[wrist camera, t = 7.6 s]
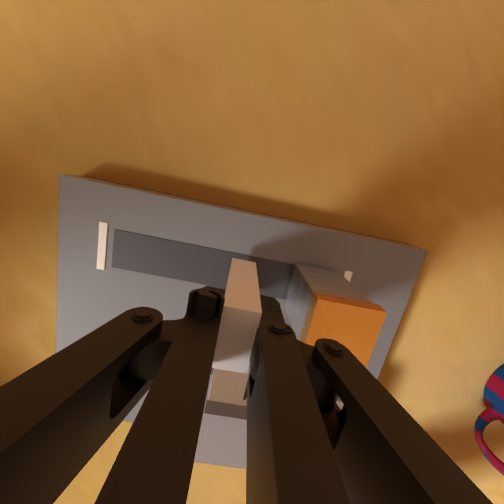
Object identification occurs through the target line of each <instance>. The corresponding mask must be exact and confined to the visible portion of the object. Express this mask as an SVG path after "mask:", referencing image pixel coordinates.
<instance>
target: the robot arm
mask: <svg viewBox="0 0 504 504" xmlns="http://www.w3.org/2000/svg"><path fill="white" fill-rule="evenodd" d="M249 364H250V373H249V377H248V381H247V385H246V389H245V393H244V397H243V400H246V397H247V473H246V504H493V503H492V502H491V501H490V500H489V499H488V498H487V497H486V496H485V495H484V494H483V493H482V491H481V490H480V489H479V488H478V487H477V486H476V485H475V484H474V483H473V482H472V481H471V480H470V479H469V478H468V476H467V475H466V474H465V473H464V472H463V471H462V470H461V469H460V468H459V467H458V466H457V465H456V464H455V463H454V462H453V460H452V459H451V458H450V457H449V456H448V455H447V454H446V453H445V452H444V451H443V450H442V449H441V448H440V447H439V445H438V444H437V443H436V442H435V441H434V440H433V439H432V438H431V437H430V436H429V435H428V434H427V433H426V432H425V431H424V429H423V428H422V427H421V426H420V425H419V424H418V423H417V422H416V421H415V420H414V419H413V418H412V417H411V416H410V414H409V413H408V412H407V411H406V410H405V409H404V408H403V407H402V406H401V405H400V404H399V403H398V402H397V401H396V400H395V398H394V397H393V396H392V395H391V394H390V393H389V392H388V391H387V390H386V389H385V388H384V387H383V386H382V385H381V383H380V382H379V381H378V380H377V379H376V378H375V377H374V376H373V375H372V374H371V373H370V372H369V371H368V370H367V369H366V367H365V366H364V365H363V364H362V363H361V362H360V361H359V360H358V359H357V358H356V357H355V356H354V355H353V354H352V352H351V351H350V350H349V349H348V348H346V347H345V346H344V345H342V344H341V343H339V342H338V341H336V340H333V339H327V338H320V339H318V340H316V342H315V345H314V346H311V345H309V344H306V343H303V342H301V341H299V340H297V338H296V335H295V332H294V331H293V329H292V328H291V327H290V326H289V325H287V324H285V321H284V317H283V314H282V310H281V307H280V303H279V302H278V301H277V300H276V299H275V298H274V297H269V296H264V295H260V292H259V284H258V276H257V267H256V262H251V261H246V260H241V259H236V258H232V262H231V267H230V272H229V277H228V282H227V287H226V289H223V288H218V287H212V286H205V287H203V288H199V289H194V290H192V291H191V292H190V293H189V298H188V304H187V310H186V314H185V316H184V318H181V319H177V320H163V314H162V313H161V312H160V311H158V310H156V309H154V308H149V307H137V308H132V309H129V310H127V311H125V312H123V313H122V314H120V315H118V316H117V317H115V318H113V319H112V320H110V321H108V322H107V323H105V324H103V325H102V326H100V327H99V328H97V329H95V330H94V331H92V332H90V333H89V334H87V335H85V336H84V337H82V338H80V339H79V340H77V341H75V342H74V343H72V344H71V345H69V346H67V347H66V348H64V349H62V350H61V351H59V352H57V353H56V354H54V355H52V356H51V357H49V358H47V359H46V360H44V361H43V362H41V363H39V364H38V365H36V366H34V367H33V368H31V369H29V370H28V371H26V372H24V373H23V374H21V375H19V376H18V377H16V378H14V379H13V380H11V381H10V382H8V383H6V384H5V385H3V386H1V387H0V504H53V503H54V502H55V501H56V499H57V498H58V497H59V496H60V495H61V493H62V492H63V491H64V490H65V489H66V488H67V486H68V485H69V484H70V483H71V482H72V480H73V479H74V478H75V477H76V476H77V474H78V473H79V472H80V471H81V470H82V468H83V467H84V466H85V465H86V464H87V463H88V461H89V460H90V459H91V458H92V457H93V455H94V454H95V453H96V452H97V451H98V449H99V448H100V447H101V446H102V445H103V443H104V442H105V441H106V440H107V439H108V437H109V436H110V435H111V434H112V433H113V432H114V430H115V429H116V428H117V427H118V426H119V424H120V423H121V422H122V421H123V420H124V418H125V417H126V416H127V415H128V414H129V412H130V411H131V410H132V409H133V408H134V407H135V405H136V404H137V403H138V402H139V401H140V399H141V398H142V397H143V396H144V395H145V393H146V392H147V391H148V390H149V391H148V393H147V395H146V397H145V399H144V402H143V404H142V406H141V408H140V410H139V412H138V414H137V416H136V418H135V420H134V422H133V425H132V427H131V429H130V431H129V433H128V435H127V437H126V439H125V441H124V443H123V445H122V447H121V450H120V452H119V454H118V456H117V458H116V460H115V462H114V464H113V466H112V468H111V470H110V472H109V475H108V477H107V479H106V481H105V483H104V485H103V487H102V489H101V491H100V493H99V495H98V497H97V500H96V502H95V504H186V500H187V495H188V490H189V485H190V479H191V474H192V469H193V464H194V458H195V453H196V448H197V443H198V437H199V432H200V427H201V422H202V416H203V411H204V406H205V401H206V395H207V390H208V385H209V380H210V375H211V369H212V368H215V369H221V370H227V371H233V372H239V373H245V374H247V372H248V368H249ZM338 396H339V398H340V399H341V401H342V402H343V404H344V405H343V408H342V410H341V409H340V408H339V406H338V405H337V403H336V402H337V399H338Z"/></svg>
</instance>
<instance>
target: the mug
mask: <svg viewBox="0 0 504 504" xmlns="http://www.w3.org/2000/svg"><path fill="white" fill-rule="evenodd" d="M484 401H485V404H486V407H487V409H486V410H484V411H483V412H482V413H481V414H480V415H479V416H478V418H477V420H476V422H475V428H474V432H475V439H476V441H477V443H478V445H479V447H480V450H481V451H482V453H483V454H484V456H485V457H486V458H487V460H488V461H489V462H490V463H491V464H492V465H493V466H494V467H495V468H496V469H497V470H498V471H499V472H500V473H501V474H503V475H504V463H503V462H502V461H501V460H500V459H498V458H497V457H496V456H495V455H494V454H493V452H492V451H491V450H490V449H489V448H488V446H487V445H486V443H485V442H484V440H483V431H484V429H485V427H486V426H487V425H488V424H489V423H490V422H492V421H494V420H498V419H499V420H500V421H501V422H502V423H503V424H504V364H503V365H502V366H501V367H499V368H498V369H497V370H496V371H495V372H494V373H493V374H492V375H491V376H490V378H489V379H488V381H487V383H486V386H485V389H484Z"/></svg>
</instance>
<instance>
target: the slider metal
mask: <svg viewBox="0 0 504 504" xmlns="http://www.w3.org/2000/svg"><path fill="white" fill-rule="evenodd" d="M285 307H286V310H287V313H288V317H289V320H290V323H291V326H292V329H293V331H294V332H295V335H296V338H297V340H299V341H301V342H303V343H306V344H309V345H311V346H314V345H315V342H316V340H318V339H320V338H327V339H333V340H336V341H338V342H339V343H341V344H342V345H344V346H345V347H346V348H348V349H349V350H350V351H351V352H352V354H353V355H354V356H355V357H356V358H357V359H358V360H359V361H360V362H361V363H362V364H363V365H364V366H365V367H367V365H368V362H369V359H370V357H371V354H372V351H373V349H374V346H375V343H376V341H377V338H378V335H379V333H380V330H381V327H382V325H383V322H384V319H385V317H386V314H387V312H386V311H385V310H384V309H383V308H382V307H381V306H380V305H378V304H374V303H372V302H371V301H370V300H369V299H368V298H367V297H365V296H364V295H363V294H362V293H361V292H360V291H359V290H358V289H357V288H356V287H355V286H354V285H352V284H351V283H350V282H349V281H348V280H347V279H346V278H345V277H344V276H343V275H342V274H341V273H340V272H338V271H333V270H328V269H323V268H318V267H313V266H308V265H303V264H298V263H295V266H294V270H293V273H292V277H291V281H290V285H289V289H288V292H287V296H286V300H285Z"/></svg>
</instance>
